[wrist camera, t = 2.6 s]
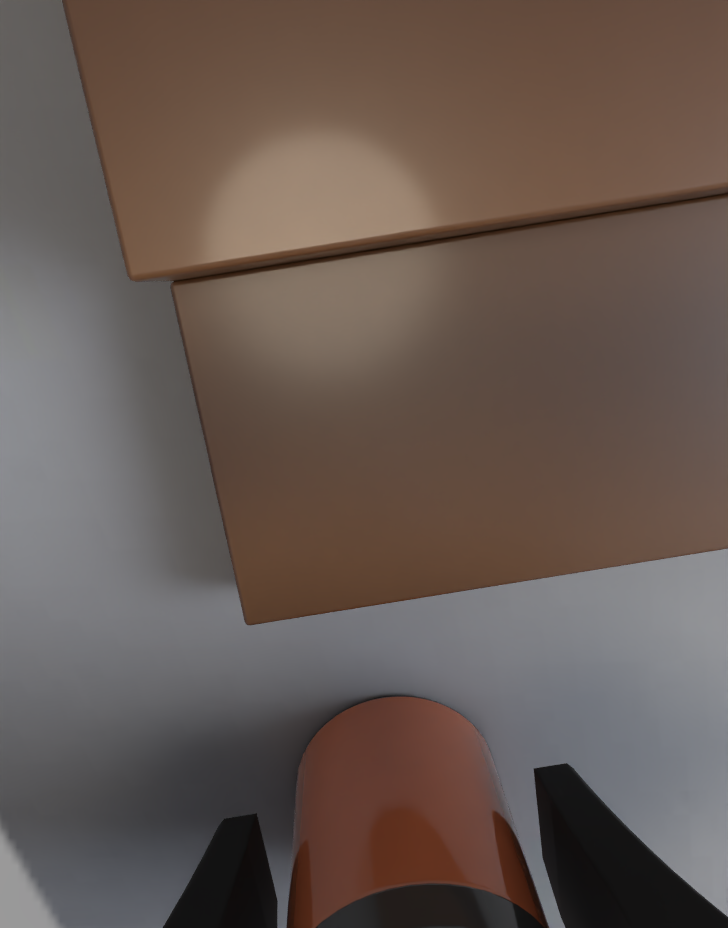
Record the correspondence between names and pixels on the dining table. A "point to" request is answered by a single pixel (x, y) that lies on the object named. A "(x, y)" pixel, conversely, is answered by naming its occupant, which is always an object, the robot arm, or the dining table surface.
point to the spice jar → (405, 826)
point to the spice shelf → (432, 277)
